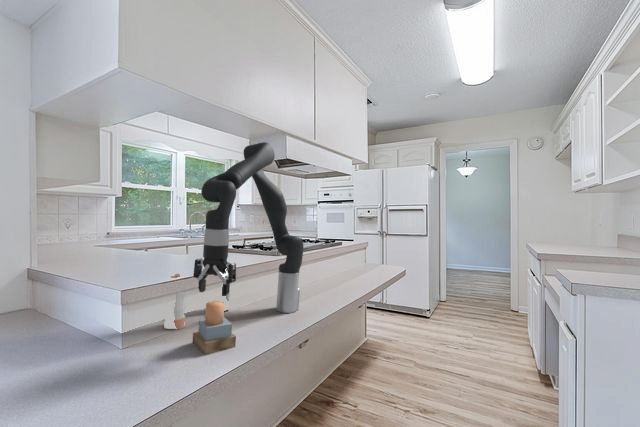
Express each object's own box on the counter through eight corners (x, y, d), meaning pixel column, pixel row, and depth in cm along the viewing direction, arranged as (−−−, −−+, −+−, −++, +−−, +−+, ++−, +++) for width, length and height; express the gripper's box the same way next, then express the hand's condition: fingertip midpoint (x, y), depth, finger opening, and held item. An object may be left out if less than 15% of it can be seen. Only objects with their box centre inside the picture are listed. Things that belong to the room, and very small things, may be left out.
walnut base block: (221, 337, 110) (222, 326, 110) (235, 348, 102) (236, 336, 102) (192, 344, 103) (193, 332, 103) (204, 356, 95) (205, 343, 95)
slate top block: (222, 327, 108) (223, 316, 108) (231, 336, 102) (232, 324, 102) (198, 332, 103) (199, 319, 103) (206, 341, 97) (206, 328, 97)
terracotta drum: (218, 318, 106) (219, 300, 106) (226, 323, 102) (227, 304, 102) (202, 321, 102) (203, 302, 102) (209, 326, 98) (210, 307, 98)
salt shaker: (174, 321, 120) (177, 270, 119) (189, 324, 117) (192, 273, 117) (158, 327, 113) (161, 274, 113) (174, 331, 111) (177, 277, 110)
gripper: (189, 242, 99) (187, 293, 100) (228, 246, 95) (225, 300, 95) (205, 239, 106) (202, 287, 107) (242, 244, 102) (239, 293, 103)
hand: (213, 293), depth 101 cm, fingers open, 8 cm apart
